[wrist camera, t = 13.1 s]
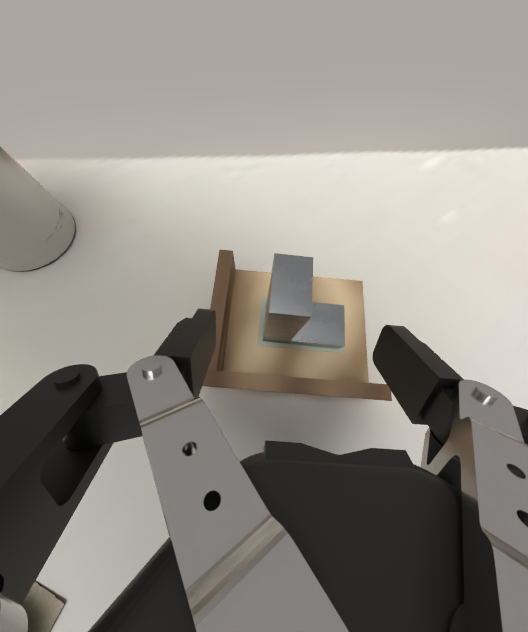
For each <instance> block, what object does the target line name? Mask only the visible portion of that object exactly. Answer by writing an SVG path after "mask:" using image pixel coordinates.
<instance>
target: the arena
mask: <svg viewBox="0 0 528 632" xmlns="http://www.w3.org/2000/svg"><path fill="white" fill-rule="evenodd" d="M270 278H271V273H267V272H256V271H245V270H235V277H234V285H233V293H232V301H231V309H230V316H229V324H228V332H227V340H226V348H225V356H224V363H223V371H225V372H238V373H250V374H262V375H275V376H287V377H300V378H312V379H324V380H337V381H349V382H361V383H368V368H367V351H366V335H365V318H364V302H363V286H362V281H355V280H344V279H333V278H322V277H313V282H312V302H318V303H328V304H337V305H344V313H345V346H344V347H342V348H339V349H337V348H327V347H317V346H307V345H297V344H287V343H277V342H267V341H263V334H264V323H265V313H266V302H267V296H268V290H269V284H270Z"/></svg>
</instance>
